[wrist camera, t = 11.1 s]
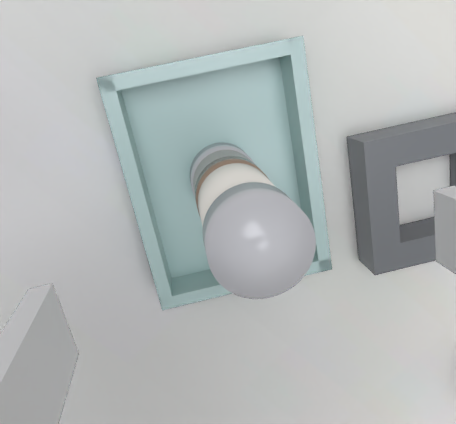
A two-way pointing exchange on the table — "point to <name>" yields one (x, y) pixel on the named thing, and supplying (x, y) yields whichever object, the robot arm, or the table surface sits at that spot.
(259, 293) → the grey-white banded cylinder
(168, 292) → the parts tray
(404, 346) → the table surface
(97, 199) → the table surface
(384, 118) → the table surface
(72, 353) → the robot arm
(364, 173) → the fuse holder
